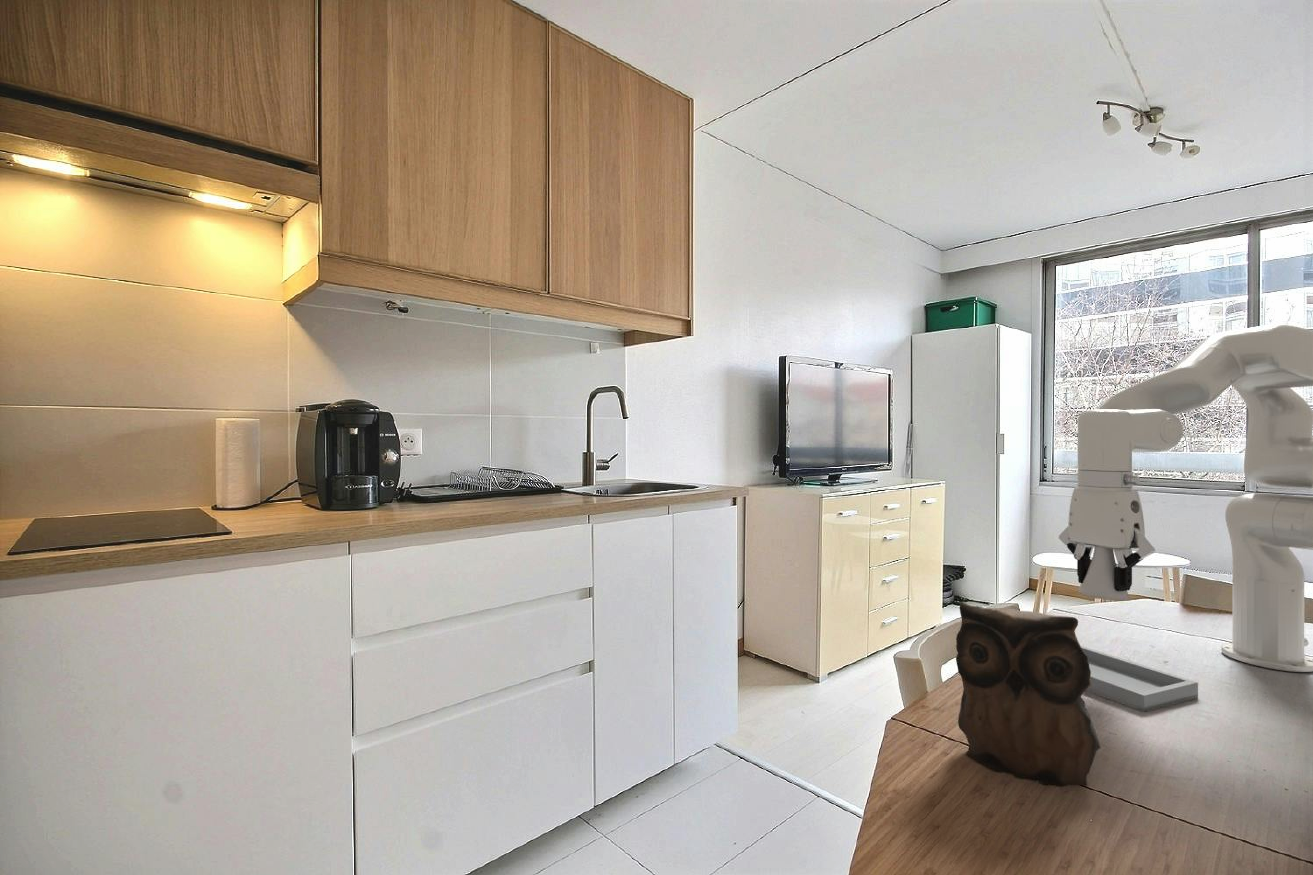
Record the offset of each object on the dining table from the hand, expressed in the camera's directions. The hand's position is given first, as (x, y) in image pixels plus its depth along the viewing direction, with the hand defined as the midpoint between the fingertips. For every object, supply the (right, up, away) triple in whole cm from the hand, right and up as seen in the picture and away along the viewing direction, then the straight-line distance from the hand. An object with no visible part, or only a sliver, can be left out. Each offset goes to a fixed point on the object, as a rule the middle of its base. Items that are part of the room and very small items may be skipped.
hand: (1103, 585), depth 102 cm
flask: (0, -2, 0) cm, 2 cm away
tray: (0, -16, 0) cm, 16 cm away
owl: (-30, -16, -26) cm, 43 cm away
